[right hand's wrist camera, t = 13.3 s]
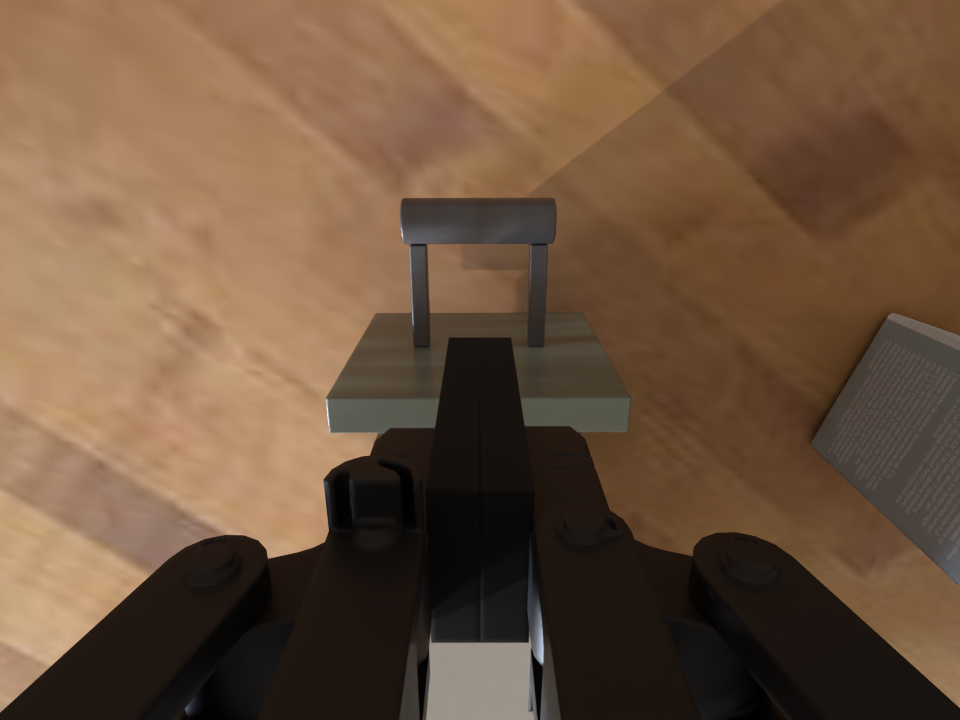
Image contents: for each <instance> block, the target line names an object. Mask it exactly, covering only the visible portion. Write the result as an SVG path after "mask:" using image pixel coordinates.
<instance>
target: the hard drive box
mask: <svg viewBox="0 0 960 720" xmlns="http://www.w3.org/2000/svg"><path fill="white" fill-rule="evenodd" d="M811 446H812V447H813V449H815V450H816V451H817V452H818V453H819V454H820V455H821V456H822V457H823V458H824V459H825V460H826V461H827V462H828V463H829V464H830V465H831V466H832V467H833V468H834V469H835V470H836V471H837V472H839V473H840V474H841V475H842V476H843V477H844V478H845V479H846V480H847V481H848V482H849V483H850V484H851V485H852V486H853V487H854V488H856V489H857V490H858V491H859V492H860V493H861V494H862V495H863V496H864V497H865V498H866V499H867V500H868V501H869V502H870V503H871V504H873V505H874V506H875V507H876V508H877V509H878V510H879V511H880V512H881V513H882V514H883V515H884V516H885V517H886V518H887V519H888V520H889V521H891V522H892V523H893V524H894V525H895V526H896V527H897V528H898V529H899V530H900V531H901V532H902V533H903V534H904V535H905V536H906V537H908V538H909V539H910V540H911V541H912V542H913V543H914V544H915V545H916V546H917V547H918V548H919V549H920V550H921V551H923V552H924V553H925V554H926V555H927V556H928V557H929V558H930V559H931V560H932V561H933V562H934V563H935V564H936V565H937V566H938V567H939V568H941V569H942V570H943V571H944V572H945V573H946V574H947V575H948V576H949V577H950V578H951V579H952V580H953V581H954V582H955V583H956V584H957V585H958V586H960V335H957V334H954V333H951V332H948V331H945V330H943V329H940V328H937V327H934V326H931V325H928V324H925V323H922V322H919V321H917V320H914V319H911V318H908V317H905V316H902V315H899V314H896V313H891V314H889V315H888V317H887V318H886V320H885V321H884V323H883V325H882V326H881V328H880V329H879V331H878V333H877V334H876V336H875V338H874V339H873V341H872V343H871V344H870V346H869V348H868V349H867V351H866V353H865V354H864V356H863V357H862V359H861V361H860V362H859V364H858V365H857V367H856V369H855V370H854V372H853V374H852V375H851V377H850V379H849V380H848V382H847V384H846V385H845V387H844V388H843V390H842V392H841V393H840V395H839V397H838V398H837V400H836V401H835V403H834V405H833V406H832V408H831V410H830V412H829V413H828V415H827V417H826V418H825V420H824V422H823V423H822V425H821V427H820V428H819V430H818V432H817V433H816V435H815V437H814V438H813V440H812V442H811Z"/></svg>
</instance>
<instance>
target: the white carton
mask: <svg viewBox="0 0 960 720" xmlns="http://www.w3.org/2000/svg"><path fill="white" fill-rule="evenodd" d="M429 655H430V682H429V693H428V704H427V715H426V720H534V714H533V712H528V705H529V680H530V655H531V641H530V631H529V643H431V634H430V644H429Z"/></svg>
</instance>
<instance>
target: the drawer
mask: <svg viewBox="0 0 960 720" xmlns="http://www.w3.org/2000/svg"><path fill="white" fill-rule="evenodd" d="M400 228H401V237H402V241H403V243H404V244H410V246H409V259H410V281H411V303H412V313H376V314H375V316H374V317H373V319H372V321H371V322H370V324H369V326H368V327H367V329H366V331H365V333H364V334H363V336H362V338H361V339H360V341H359V343H358V344H357V346H356V348H355V350H354V351H353V353H352V355H351V356H350V358H349V360H348V361H347V363H346V365H345V367H344V368H343V370H342V372H341V373H340V375H339V377H338V378H337V380H336V382H335V384H334V385H333V387H332V389H331V390H330V392H329V394H328V395H327V397H326V405H327V415H328V424H329V432H330V433H378V435H377V438H376V440H377V439H378V438H379V437H380V436H381V435H383V434H384V433H385V432H386V431H387V430H388V429H390V428H435V424H436V418H437V411H438V405H439V398H440V392H441V385H442V379H443V372H444V366H445V359H446V353H447V346H448V340H449V337H511V340H512V346H513V353H514V359H515V366H516V372H517V379H518V385H519V392H520V398H521V405H522V411H523V418H524V424H525V426H570V427H572V428H573V429H574V430H575V431H576V432H578V433H579V434H580V432H628V428H629V418H630V407H631V396H630V394H629V392H628V391H627V389H626V387H625V386H624V384H623V382H622V380H621V379H620V377H619V375H618V373H617V372H616V370H615V368H614V367H613V365H612V363H611V361H610V360H609V358H608V356H607V355H606V353H605V351H604V349H603V348H602V346H601V344H600V342H599V341H598V339H597V337H596V336H595V334H594V332H593V330H592V329H591V327H590V325H589V323H588V322H587V320H586V318H585V317H584V315H583V313H545V312H546V286H547V259H548V245H547V244H552V243H553V242H554V240H555V234H556V202H555V199H554V198H404V199H402V201H401V206H400ZM427 244H529V281H528V313H430V305H429V276H428V247H427ZM580 435H581V434H580Z"/></svg>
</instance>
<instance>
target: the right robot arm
mask: <svg viewBox="0 0 960 720" xmlns="http://www.w3.org/2000/svg"><path fill="white" fill-rule="evenodd" d="M324 489H325V498H326V507H327V516H328V525H329V533H328V535H327V538H326V541H325V542H324V543H322V544H320V545H318V546H316V547H314V548H311V549H308V550H304V551H301V552H298V553H293V554H288V555H284V556H279V557H275V558H270V559H268V557H267V551H266V549H265V548H264V547H263V545H262V544H261V543H260V542H259V541H258V540H255V539H252V538H250V537H247V536H244V535H223V536H218V537H213V538H208V539H204V540H202V541H199V542H197V543H195V544H192V545H190V546H188V547H185V548H184V549H182V550H181V551H180V552H178V553H177V554H175V555H174V556H172V557H171V558H170V559H168V560H167V561H166V562H165V563H164V564H163V565H162V566H161V567H159V568H158V569H157V570H156V571H155V572H154V573H153V574H152V575H151V576H150V577H148V578H147V579H146V580H145V581H144V582H143V583H142V584H141V585H140V586H139V587H138V588H136V589H135V590H134V591H133V592H132V593H131V594H130V595H129V596H128V597H127V598H125V599H124V600H123V601H122V602H121V603H120V604H119V605H118V606H117V607H116V608H114V609H113V610H112V611H111V612H110V613H109V614H108V615H107V616H106V617H105V618H104V619H102V620H101V621H100V622H99V623H98V624H97V625H96V626H95V627H94V628H93V629H91V630H90V631H89V632H88V633H87V634H86V635H85V636H84V637H83V638H82V639H81V640H79V641H78V642H77V643H76V644H75V645H74V646H73V647H72V648H71V649H70V650H68V651H67V652H66V653H65V654H64V655H63V656H62V657H61V658H60V659H59V660H58V661H56V662H55V663H54V664H53V665H52V666H51V667H50V668H49V669H48V670H47V671H45V672H44V673H43V674H42V675H41V676H40V677H39V678H38V679H37V680H36V681H35V682H33V683H32V684H31V685H30V686H29V687H28V688H27V689H26V690H25V691H24V692H22V693H21V694H20V695H19V696H18V697H17V698H16V699H15V700H14V701H13V702H12V703H10V704H9V705H8V706H7V707H6V708H5V709H4V710H3V711H2V712H1V713H0V720H426V715H427V704H428V693H429V682H430V655H429V644H430V634H431V643H529V631H530V641H531V655H530V680H529V705H528V712H533V714H534V720H960V708H959V707H958V706H957V705H956V704H955V703H953V702H952V701H951V700H950V699H949V698H948V697H947V696H946V695H945V694H943V693H942V692H941V691H940V690H939V689H938V688H937V687H936V686H935V685H934V684H932V683H931V682H930V681H929V680H928V679H927V678H926V677H925V676H924V675H923V674H921V673H920V672H919V671H918V670H917V669H916V668H915V667H914V666H913V665H911V664H910V663H909V662H908V661H907V660H906V659H905V658H904V657H903V656H902V655H900V654H899V653H898V652H897V651H896V650H895V649H894V648H893V647H892V646H890V645H889V644H888V643H887V642H886V641H885V640H884V639H883V638H882V637H881V636H879V635H878V634H877V633H876V632H875V631H874V630H873V629H872V628H871V627H870V626H868V625H867V624H866V623H865V622H864V621H863V620H862V619H861V618H860V617H858V616H857V615H856V614H855V613H854V612H853V611H852V610H851V609H850V608H849V607H847V606H846V605H845V604H844V603H843V602H842V601H841V600H840V599H839V598H837V597H836V596H835V595H834V594H833V593H832V592H831V591H830V590H829V589H828V588H826V587H825V586H824V585H823V584H822V583H821V582H820V581H819V580H818V579H816V578H815V577H814V576H813V575H812V574H811V573H810V572H809V571H808V570H807V569H805V568H804V567H803V566H802V565H801V564H800V563H799V562H798V561H797V560H796V559H794V558H793V557H792V556H791V555H789V554H788V553H786V552H785V551H784V550H782V549H781V548H779V547H778V546H776V545H775V544H772V543H770V542H768V541H765V540H763V539H760V538H758V537H756V536H751V535H747V534H741V533H736V532H730V533H715V534H712V535H709V536H706V537H703V538H702V539H701V540H700V541H699V542H698V543H697V544H696V545H695V547H694V551H693V556H688V555H683V554H679V553H674V552H670V551H665V550H661V549H658V548H654V547H651V546H648V545H645V544H643V543H641V542H639V541H637V540H635V539H634V537H633V535H632V532H631V530H630V528H629V527H628V526H627V524H626V523H625V521H624V520H623V519H622V518H620V517H619V516H617V515H616V514H615V513H613V512H612V511H610V510H609V507H608V504H607V501H606V498H605V495H604V492H603V490H602V487H601V484H600V481H599V478H598V475H597V472H596V469H594V463H593V461H592V458H591V457H590V452H589V449H588V446H587V443H586V440H585V438H583V437H582V436H581V435H580V434H579V433H578V432H576V431H575V430H574V429H573V428H572V427H570V426H525V424H524V418H523V411H522V405H521V398H520V392H519V385H518V379H517V372H516V366H515V359H514V353H513V346H512V340H511V337H449V340H448V346H447V353H446V359H445V366H444V372H443V379H442V385H441V392H440V398H439V405H438V411H437V418H436V424H435V428H390V429H388V430H387V431H386V432H385V433H384V434H383V435H381V436H380V437H379V438H378V439H377V440H375V443H374V446H373V449H372V451H371V454H370V456H362V457H359V458H356V459H352V460H349V461H346V462H344V463H342V464H341V465H339V466H337V467H335V468H334V469H332V470H331V471H330V472H329V474H328V475H327V476H326V477H325V479H324Z"/></svg>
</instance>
